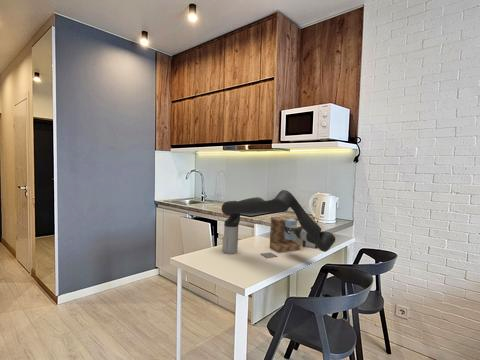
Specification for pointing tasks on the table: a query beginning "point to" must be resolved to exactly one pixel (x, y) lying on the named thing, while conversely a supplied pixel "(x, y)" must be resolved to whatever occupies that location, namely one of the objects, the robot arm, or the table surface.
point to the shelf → (281, 236)
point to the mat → (269, 255)
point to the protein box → (309, 244)
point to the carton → (290, 224)
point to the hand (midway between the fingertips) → (288, 227)
